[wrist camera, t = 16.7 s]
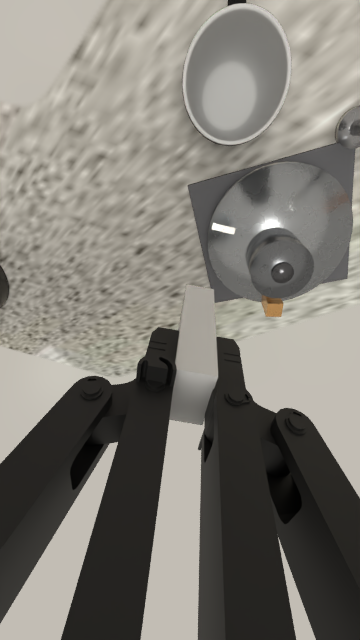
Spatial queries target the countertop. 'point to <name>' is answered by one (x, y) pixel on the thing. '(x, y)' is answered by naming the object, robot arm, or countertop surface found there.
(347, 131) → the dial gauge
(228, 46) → the mug
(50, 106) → the countertop surface
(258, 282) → the cover
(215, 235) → the turntable
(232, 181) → the turntable base
